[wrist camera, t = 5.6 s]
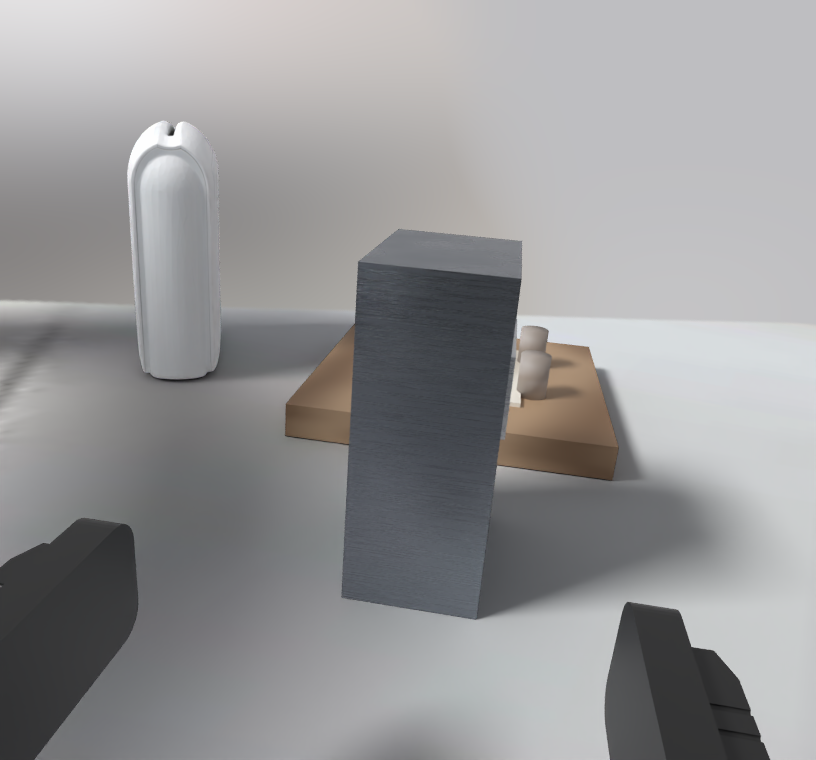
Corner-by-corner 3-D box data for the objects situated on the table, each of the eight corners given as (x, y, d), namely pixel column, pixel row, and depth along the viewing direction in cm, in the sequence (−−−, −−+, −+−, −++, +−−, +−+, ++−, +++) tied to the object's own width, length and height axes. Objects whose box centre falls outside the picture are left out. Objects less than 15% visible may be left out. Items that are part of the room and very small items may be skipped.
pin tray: (285, 435, 31) (286, 359, 29) (356, 343, 44) (359, 288, 42) (612, 480, 29) (627, 401, 28) (584, 370, 42) (594, 314, 41)
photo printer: (151, 325, 44) (139, 116, 40) (221, 325, 45) (218, 121, 41) (132, 384, 35) (114, 119, 31) (221, 382, 36) (216, 127, 32)
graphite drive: (341, 597, 21) (358, 261, 17) (380, 498, 26) (398, 228, 23) (481, 620, 20) (528, 279, 17) (490, 514, 26) (526, 241, 22)
